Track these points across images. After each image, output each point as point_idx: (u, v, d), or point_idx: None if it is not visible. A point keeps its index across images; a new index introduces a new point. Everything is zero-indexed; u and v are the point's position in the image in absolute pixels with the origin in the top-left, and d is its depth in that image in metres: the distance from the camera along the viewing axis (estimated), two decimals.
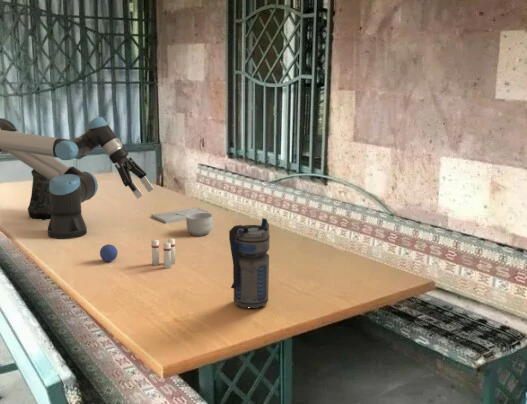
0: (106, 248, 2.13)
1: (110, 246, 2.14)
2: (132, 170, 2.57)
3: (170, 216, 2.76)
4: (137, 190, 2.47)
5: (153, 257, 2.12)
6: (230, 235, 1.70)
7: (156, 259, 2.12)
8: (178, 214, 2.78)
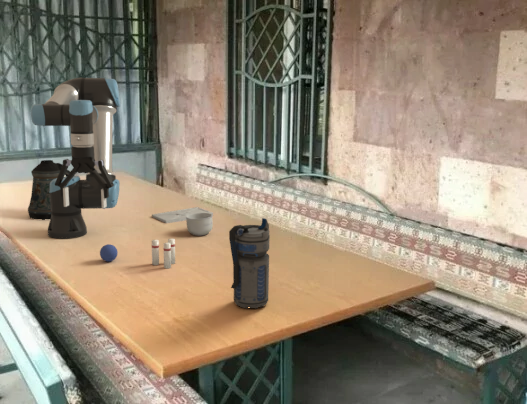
0: (106, 248, 2.13)
1: (110, 246, 2.14)
2: None
3: (171, 216, 2.76)
4: None
5: (153, 257, 2.12)
6: (230, 235, 1.70)
7: (156, 259, 2.12)
8: (179, 214, 2.78)
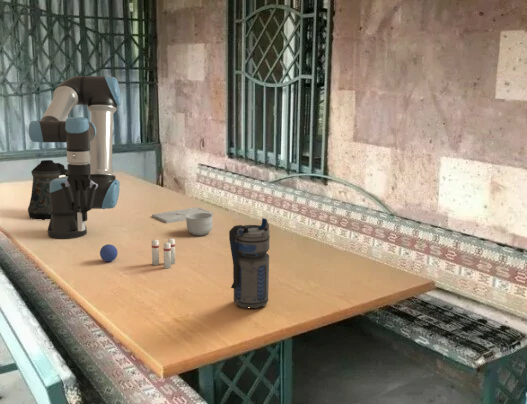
0: (106, 248, 2.13)
1: (110, 246, 2.14)
2: None
3: (171, 216, 2.76)
4: None
5: (153, 257, 2.12)
6: (230, 235, 1.70)
7: (156, 259, 2.12)
8: (179, 214, 2.78)
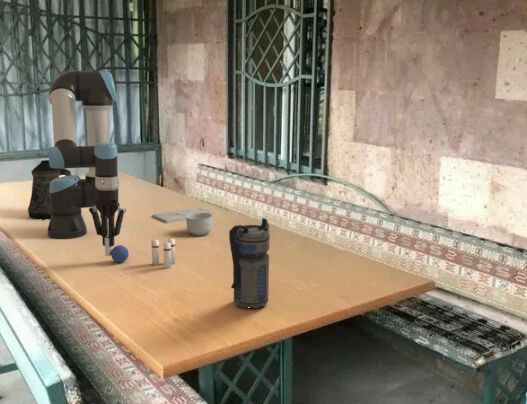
0: (122, 253, 2.12)
1: (126, 254, 2.13)
2: None
3: (171, 216, 2.76)
4: None
5: (153, 257, 2.12)
6: (230, 235, 1.70)
7: (156, 259, 2.12)
8: (179, 214, 2.78)
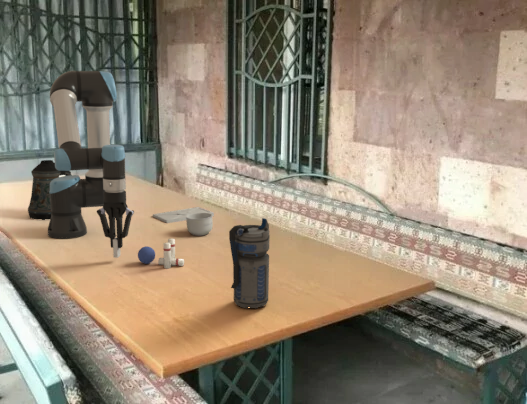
0: (139, 258, 2.12)
1: None
2: None
3: (171, 216, 2.77)
4: None
5: None
6: (230, 235, 1.70)
7: None
8: (179, 214, 2.78)
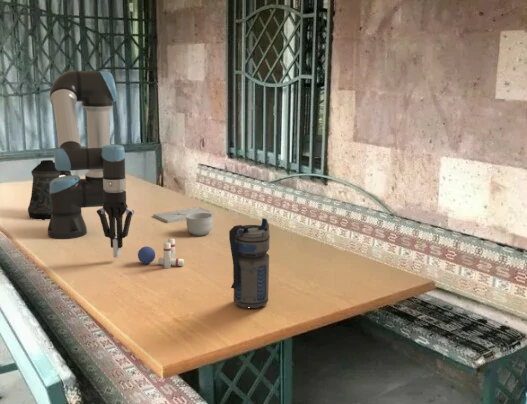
0: (139, 258, 2.12)
1: None
2: None
3: (172, 216, 2.77)
4: None
5: None
6: (230, 235, 1.70)
7: None
8: (180, 214, 2.79)
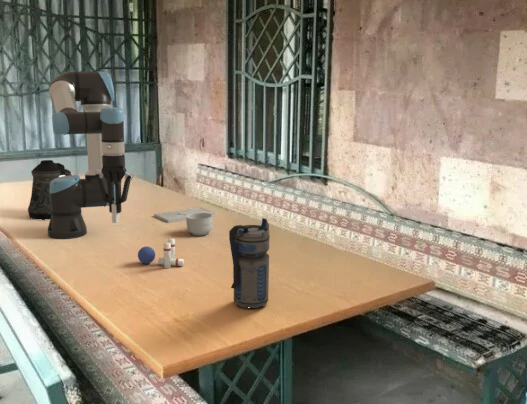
0: (139, 258, 2.12)
1: None
2: None
3: (173, 216, 2.77)
4: None
5: None
6: (230, 235, 1.70)
7: None
8: (181, 214, 2.79)
